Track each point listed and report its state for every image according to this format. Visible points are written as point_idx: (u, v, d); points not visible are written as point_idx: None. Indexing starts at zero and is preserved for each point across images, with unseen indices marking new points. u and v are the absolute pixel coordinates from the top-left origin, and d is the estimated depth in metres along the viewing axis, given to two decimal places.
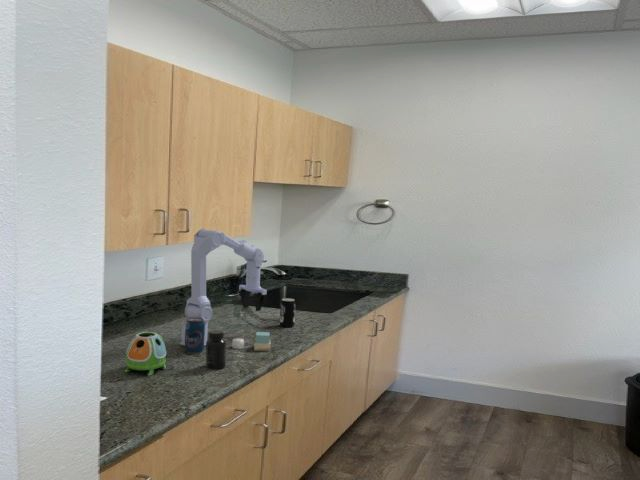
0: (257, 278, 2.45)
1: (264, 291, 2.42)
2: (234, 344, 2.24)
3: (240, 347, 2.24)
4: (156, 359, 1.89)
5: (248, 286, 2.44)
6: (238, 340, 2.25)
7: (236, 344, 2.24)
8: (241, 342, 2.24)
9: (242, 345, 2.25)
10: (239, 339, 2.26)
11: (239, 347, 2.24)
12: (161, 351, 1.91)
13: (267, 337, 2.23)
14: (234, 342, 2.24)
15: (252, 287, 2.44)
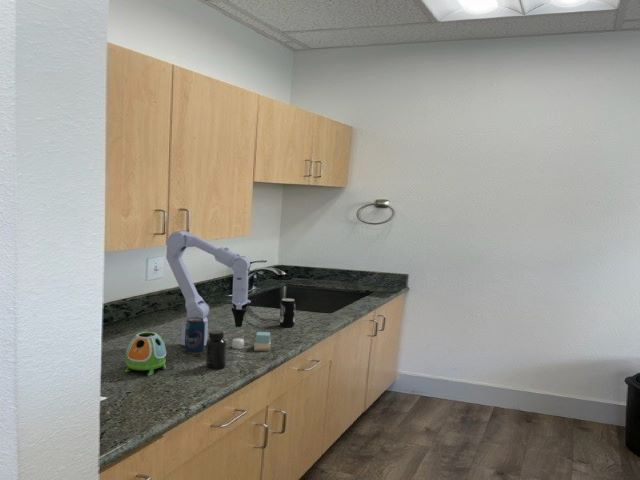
0: (239, 290, 2.21)
1: (238, 305, 2.17)
2: (234, 344, 2.24)
3: (240, 347, 2.24)
4: (156, 359, 1.89)
5: (232, 298, 2.24)
6: (238, 340, 2.25)
7: (236, 344, 2.24)
8: (241, 342, 2.24)
9: (242, 345, 2.25)
10: (239, 339, 2.26)
11: (239, 347, 2.24)
12: (161, 351, 1.91)
13: (267, 337, 2.23)
14: (234, 342, 2.24)
15: (234, 300, 2.22)
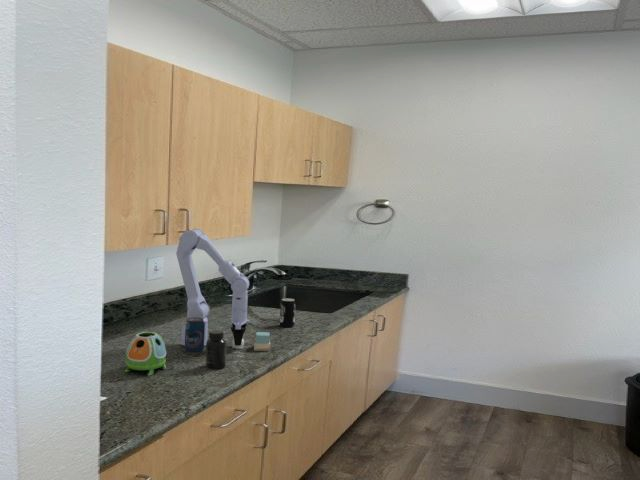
0: (238, 310, 2.22)
1: (237, 325, 2.18)
2: (234, 344, 2.24)
3: (240, 347, 2.24)
4: (156, 359, 1.89)
5: None
6: None
7: None
8: None
9: (242, 345, 2.25)
10: None
11: (239, 347, 2.24)
12: (161, 351, 1.91)
13: (267, 337, 2.23)
14: (234, 342, 2.24)
15: (233, 319, 2.23)
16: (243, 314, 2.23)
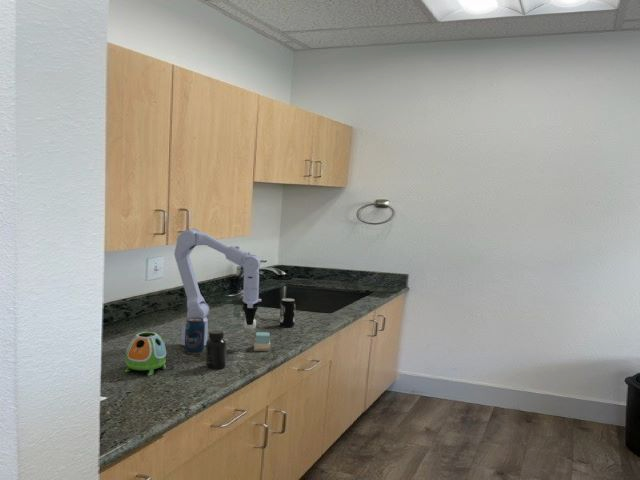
0: (250, 289, 2.21)
1: (249, 304, 2.17)
2: (246, 324, 2.23)
3: (252, 327, 2.23)
4: (156, 359, 1.89)
5: (243, 297, 2.24)
6: None
7: None
8: (253, 322, 2.23)
9: (254, 325, 2.24)
10: None
11: (251, 327, 2.23)
12: (161, 351, 1.91)
13: (267, 337, 2.23)
14: (246, 322, 2.23)
15: (245, 298, 2.22)
16: (255, 293, 2.22)
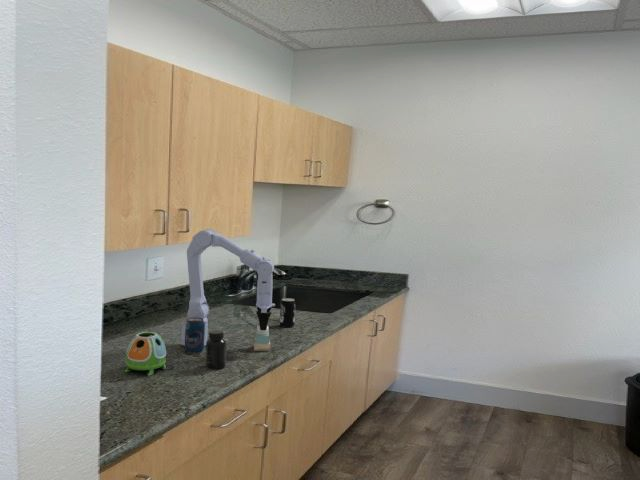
0: (264, 294, 2.21)
1: (263, 309, 2.17)
2: (259, 330, 2.23)
3: (265, 333, 2.23)
4: (156, 359, 1.89)
5: None
6: None
7: (261, 330, 2.23)
8: (266, 328, 2.23)
9: (267, 331, 2.24)
10: None
11: (264, 333, 2.23)
12: (161, 351, 1.91)
13: (267, 337, 2.23)
14: (259, 328, 2.23)
15: (258, 303, 2.22)
16: (268, 298, 2.22)
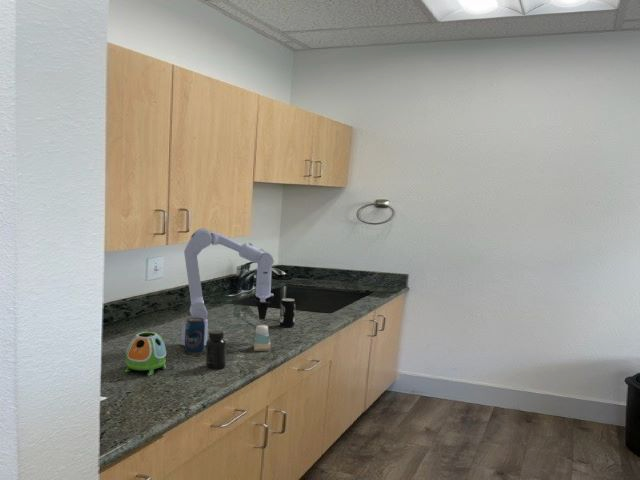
0: (263, 284, 2.29)
1: (262, 298, 2.25)
2: (258, 330, 2.23)
3: (264, 333, 2.23)
4: (156, 359, 1.89)
5: (256, 291, 2.31)
6: (262, 326, 2.24)
7: (260, 331, 2.23)
8: (265, 328, 2.23)
9: (266, 331, 2.24)
10: (263, 326, 2.26)
11: (263, 333, 2.23)
12: (161, 351, 1.91)
13: (266, 337, 2.23)
14: (258, 328, 2.23)
15: (257, 293, 2.30)
16: (267, 288, 2.30)
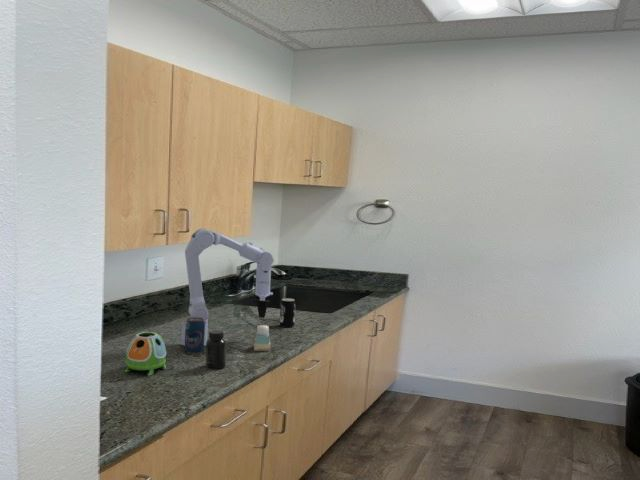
0: (262, 283, 2.32)
1: (261, 297, 2.28)
2: (259, 330, 2.23)
3: (265, 334, 2.23)
4: (156, 359, 1.89)
5: None
6: (263, 327, 2.24)
7: (261, 331, 2.23)
8: (266, 329, 2.23)
9: (267, 332, 2.24)
10: (264, 326, 2.25)
11: (264, 334, 2.23)
12: (161, 351, 1.91)
13: (267, 338, 2.23)
14: (259, 328, 2.23)
15: (257, 292, 2.33)
16: (267, 287, 2.32)
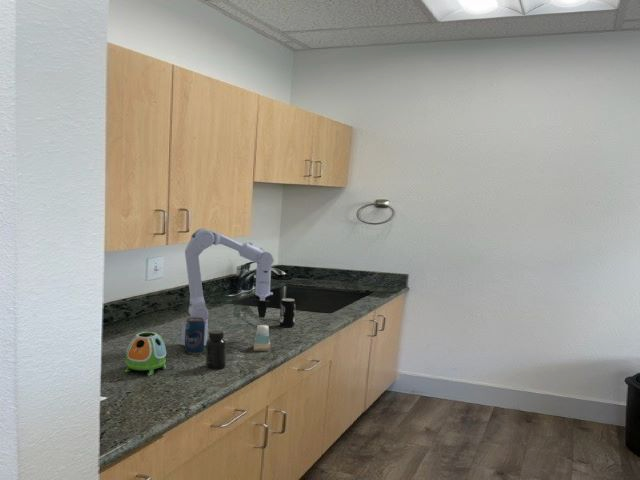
0: (262, 283, 2.32)
1: (261, 297, 2.28)
2: (259, 330, 2.23)
3: (264, 333, 2.23)
4: (156, 359, 1.89)
5: None
6: (263, 326, 2.24)
7: (261, 330, 2.23)
8: (265, 328, 2.23)
9: (267, 331, 2.24)
10: (264, 325, 2.26)
11: (263, 333, 2.23)
12: (161, 351, 1.91)
13: (266, 337, 2.23)
14: (259, 328, 2.23)
15: (257, 292, 2.33)
16: (267, 287, 2.32)
